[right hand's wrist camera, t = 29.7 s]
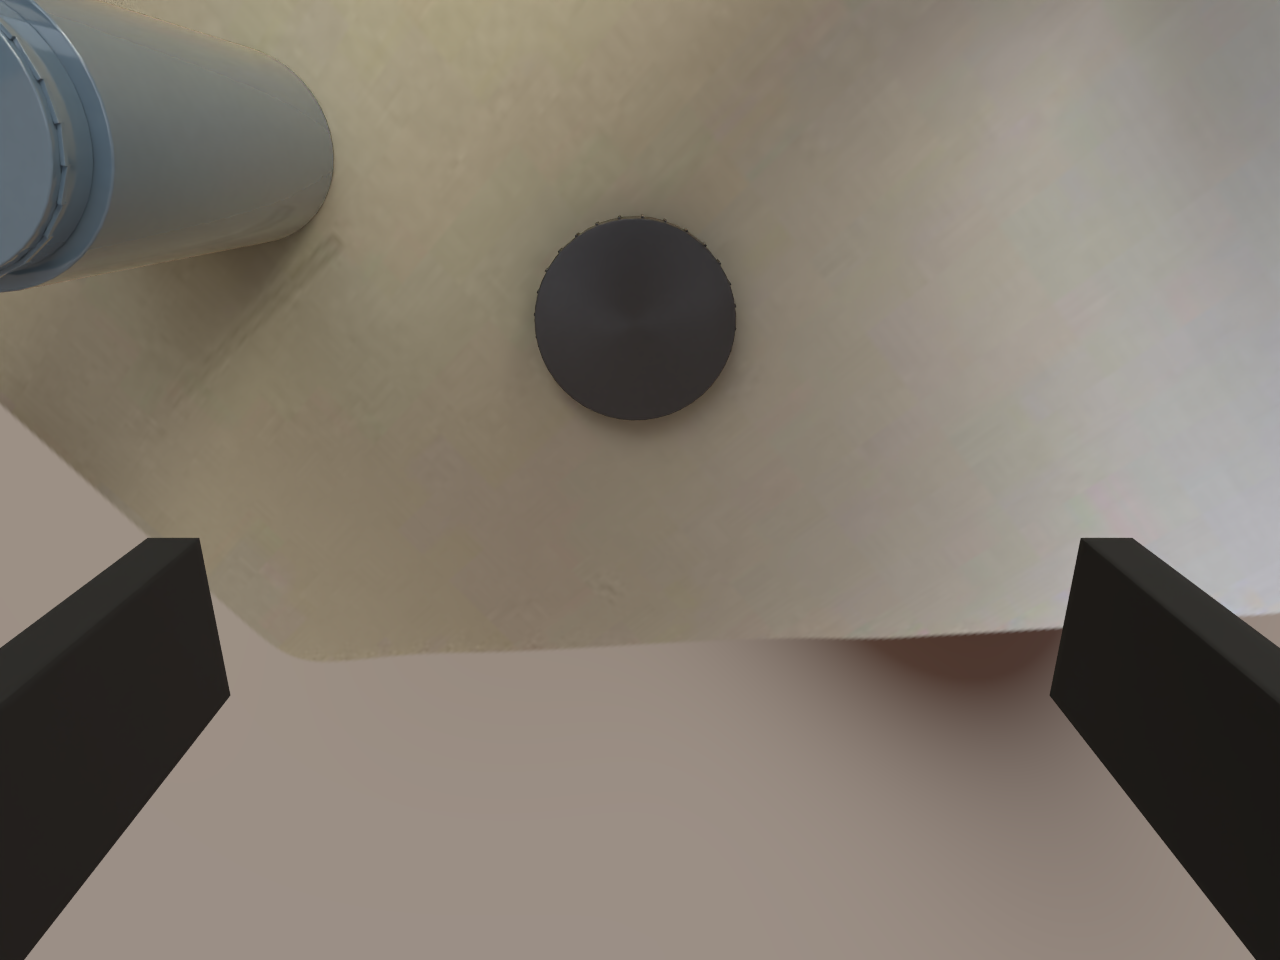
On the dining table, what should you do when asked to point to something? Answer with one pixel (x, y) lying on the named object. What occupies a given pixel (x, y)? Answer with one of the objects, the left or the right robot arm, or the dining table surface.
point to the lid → (635, 318)
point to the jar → (144, 143)
